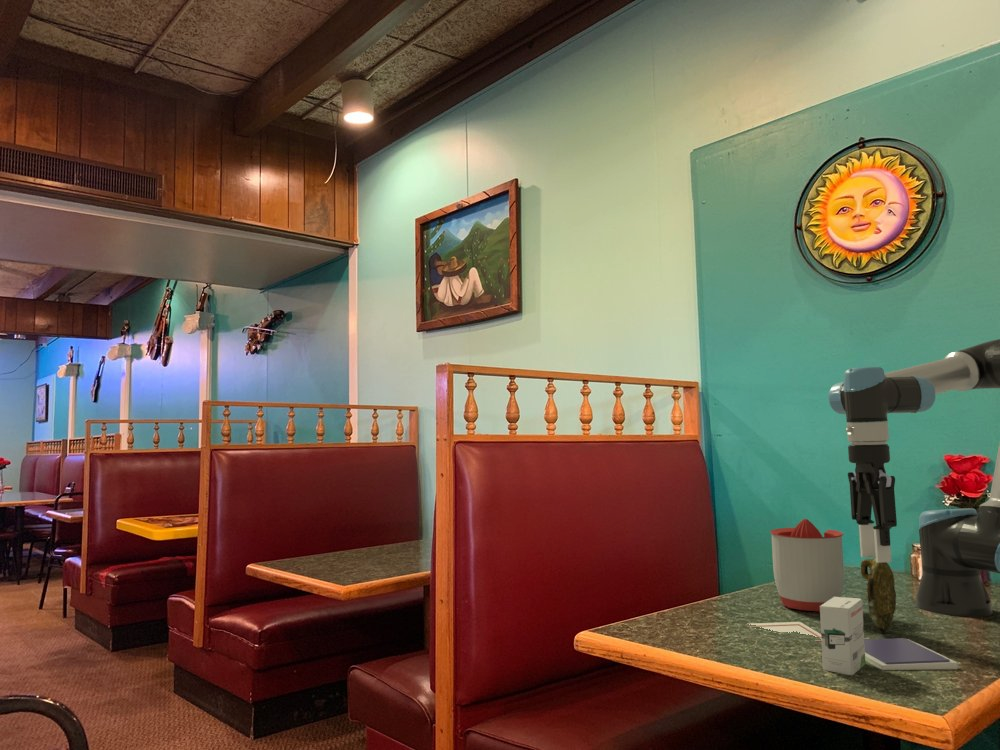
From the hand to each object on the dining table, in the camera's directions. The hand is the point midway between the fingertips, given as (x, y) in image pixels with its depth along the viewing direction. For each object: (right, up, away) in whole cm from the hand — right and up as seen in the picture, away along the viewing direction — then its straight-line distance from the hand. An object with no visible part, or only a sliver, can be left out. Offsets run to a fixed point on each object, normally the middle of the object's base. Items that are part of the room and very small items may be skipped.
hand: (875, 559), depth 148 cm
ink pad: (-5, -13, -17) cm, 23 cm away
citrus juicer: (-4, -16, +22) cm, 27 cm away
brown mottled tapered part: (0, -15, -1) cm, 15 cm away
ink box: (-17, -14, -23) cm, 32 cm away
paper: (-20, -15, -1) cm, 25 cm away
